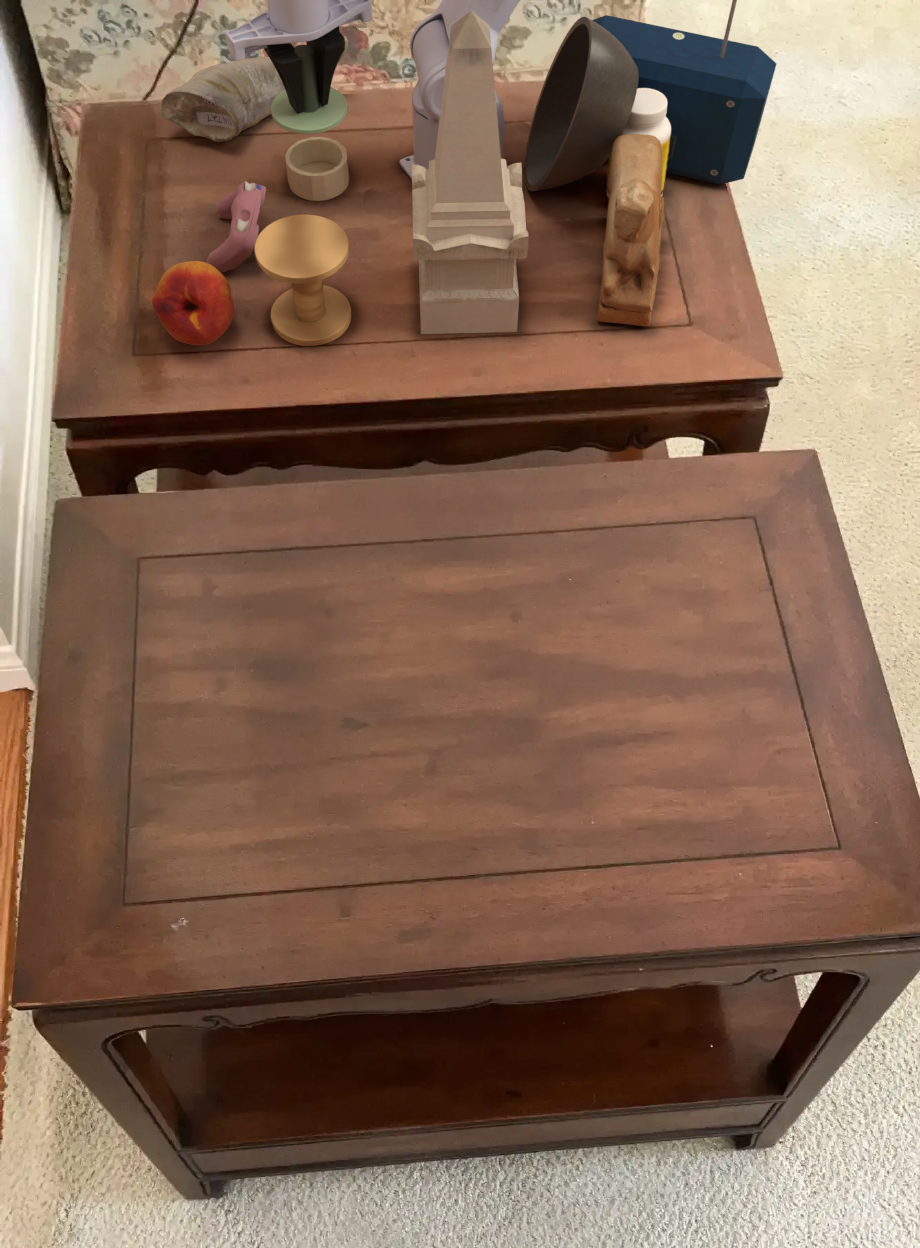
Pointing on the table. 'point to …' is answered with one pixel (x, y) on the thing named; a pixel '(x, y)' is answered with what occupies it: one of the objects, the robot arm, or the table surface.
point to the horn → (225, 98)
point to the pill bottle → (649, 123)
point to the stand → (305, 277)
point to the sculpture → (632, 231)
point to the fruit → (194, 302)
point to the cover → (309, 102)
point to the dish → (317, 168)
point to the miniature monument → (468, 201)
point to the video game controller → (238, 225)
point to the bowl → (580, 107)
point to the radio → (701, 94)
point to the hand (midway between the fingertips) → (309, 103)
